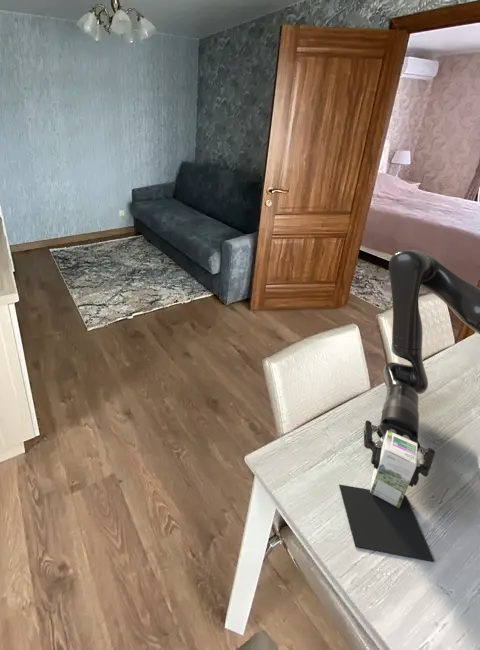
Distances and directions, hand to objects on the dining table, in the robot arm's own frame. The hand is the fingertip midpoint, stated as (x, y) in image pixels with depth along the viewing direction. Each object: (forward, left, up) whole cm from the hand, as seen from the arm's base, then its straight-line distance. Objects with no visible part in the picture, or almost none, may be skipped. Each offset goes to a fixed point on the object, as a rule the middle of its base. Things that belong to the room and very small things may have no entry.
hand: (393, 474), depth 72 cm
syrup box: (-1, -2, -9) cm, 9 cm away
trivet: (+2, +4, -9) cm, 10 cm away
